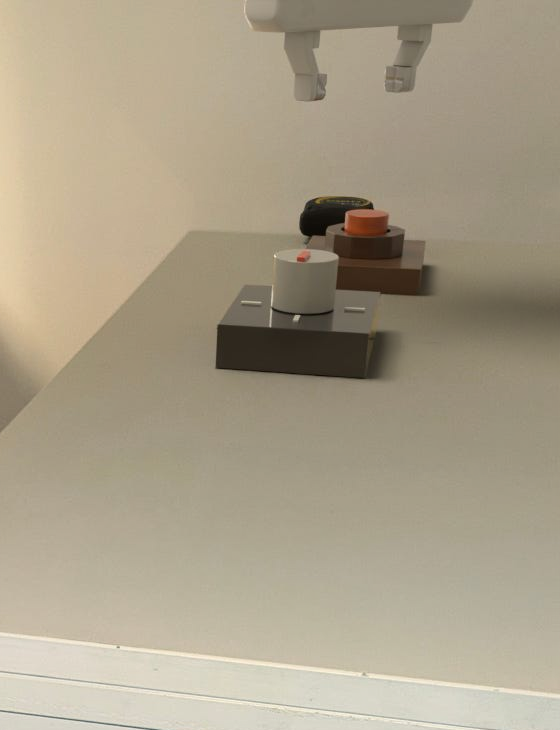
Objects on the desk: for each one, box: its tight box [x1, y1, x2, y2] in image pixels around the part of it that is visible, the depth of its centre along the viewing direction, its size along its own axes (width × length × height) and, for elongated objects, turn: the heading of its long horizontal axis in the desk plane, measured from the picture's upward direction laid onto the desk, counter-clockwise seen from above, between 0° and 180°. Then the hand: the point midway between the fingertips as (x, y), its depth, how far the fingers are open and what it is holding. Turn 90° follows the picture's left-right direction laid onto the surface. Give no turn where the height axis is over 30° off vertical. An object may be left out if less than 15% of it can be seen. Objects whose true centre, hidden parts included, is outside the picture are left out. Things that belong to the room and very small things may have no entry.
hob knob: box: [271, 248, 339, 314], centre depth 90 cm, size 4×4×4 cm
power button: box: [344, 209, 390, 235], centre depth 111 cm, size 4×4×2 cm
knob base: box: [215, 284, 381, 379], centre depth 92 cm, size 12×10×3 cm
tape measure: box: [298, 195, 375, 238], centre depth 126 cm, size 7×7×4 cm
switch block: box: [304, 223, 427, 297], centre depth 112 cm, size 12×10×4 cm
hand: (354, 96), depth 96 cm, fingers open, 8 cm apart
